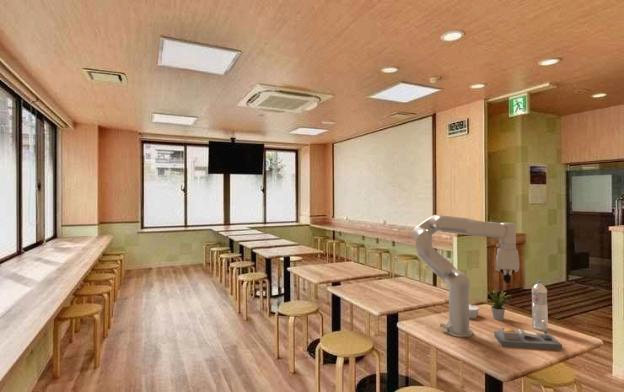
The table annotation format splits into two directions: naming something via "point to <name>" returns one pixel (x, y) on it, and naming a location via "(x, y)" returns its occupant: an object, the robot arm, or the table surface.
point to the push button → (508, 330)
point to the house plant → (498, 305)
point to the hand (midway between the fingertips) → (506, 282)
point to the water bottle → (539, 306)
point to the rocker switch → (527, 333)
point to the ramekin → (473, 311)
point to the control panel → (526, 340)
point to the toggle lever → (544, 327)
